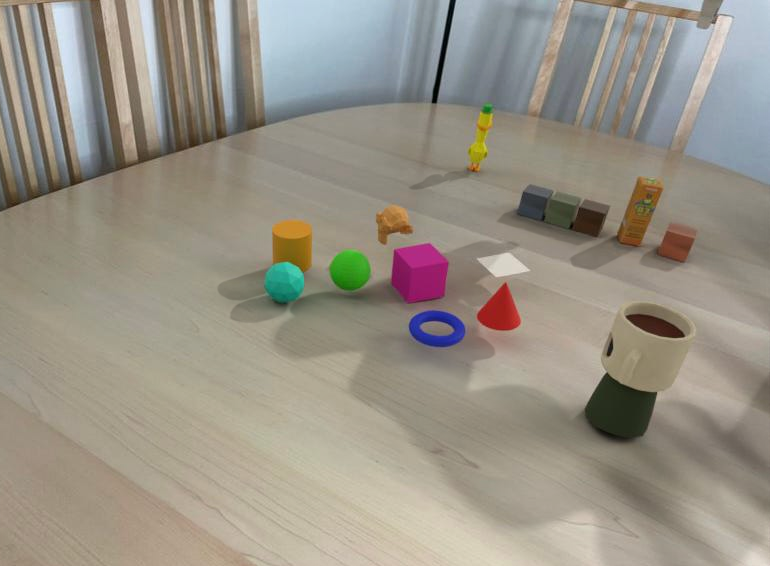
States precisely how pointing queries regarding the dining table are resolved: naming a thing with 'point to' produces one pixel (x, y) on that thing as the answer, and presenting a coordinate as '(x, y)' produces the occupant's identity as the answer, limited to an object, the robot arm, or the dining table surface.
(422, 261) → the shape set
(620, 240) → the supplement box
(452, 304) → the dining table surface
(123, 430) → the dining table surface
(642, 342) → the character mug
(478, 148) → the toy figure
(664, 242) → the block row
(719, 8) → the robot arm
